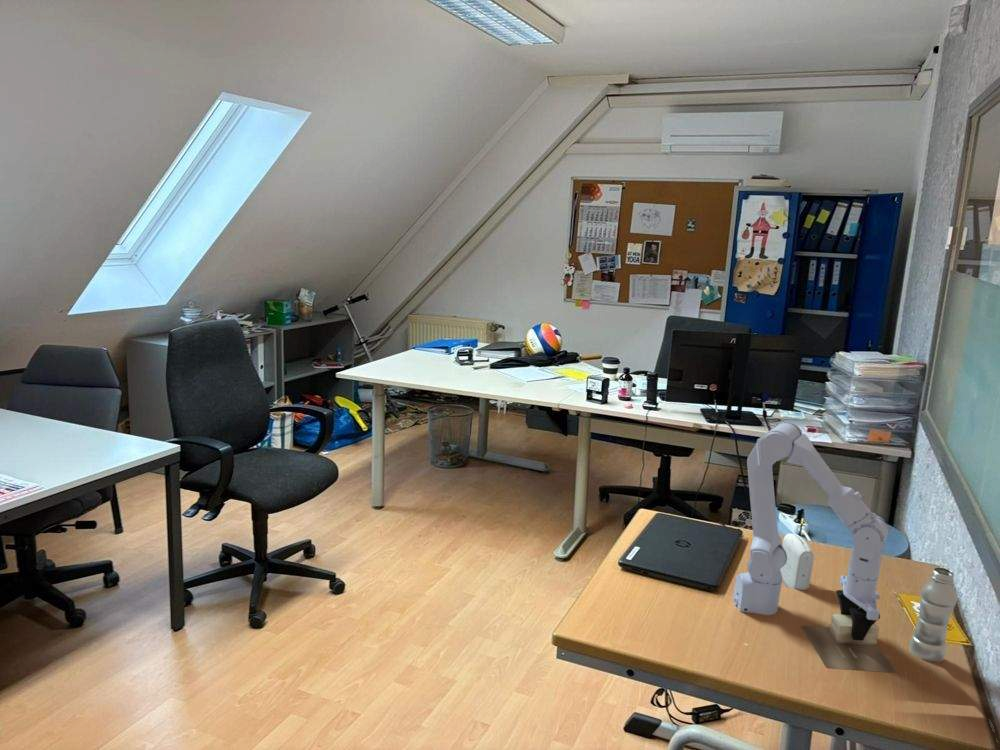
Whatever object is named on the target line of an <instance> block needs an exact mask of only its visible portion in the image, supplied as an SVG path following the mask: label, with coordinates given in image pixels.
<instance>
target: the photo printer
mask: <svg viewBox="0 0 1000 750" xmlns="http://www.w3.org/2000/svg"><path fill="white" fill-rule="evenodd" d="M782 546H783V548H784V549H785V551H786V553H787V562H786V564H785V565H784V566H783V567H782V568H781V569H780V570H781V574H782V583H784V584H785V586H786V587H787V588H788V589H796V590H802V591H804V590H805V591H806V590H809V587H810V582H811V577H812V572H813V565H814V561H815V559H814V558H815V555H814V552H813V550H812V547H811V546H810V545H809V543H808V542H807V541H806V540H805V539H804V538H803V537H802V536H800V535H798V534H796V533H787V534H786V535H785V536H784V537H783V540H782Z"/></svg>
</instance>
